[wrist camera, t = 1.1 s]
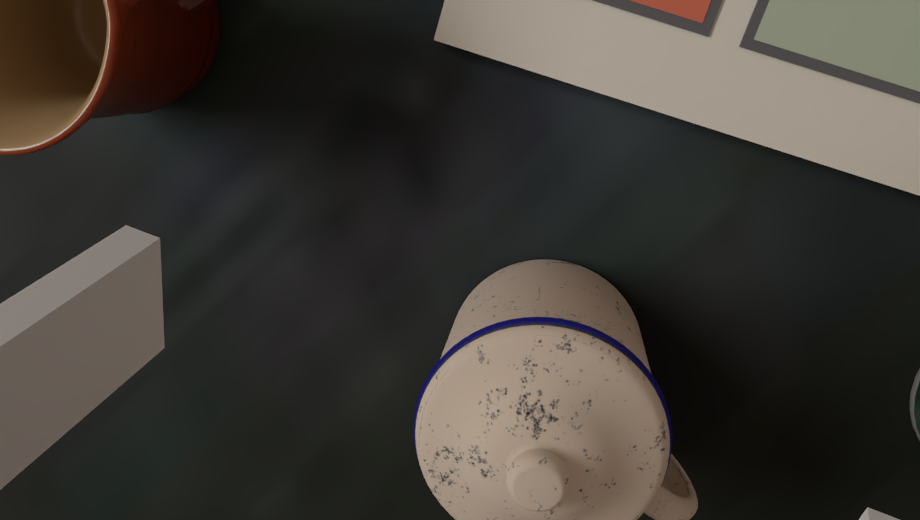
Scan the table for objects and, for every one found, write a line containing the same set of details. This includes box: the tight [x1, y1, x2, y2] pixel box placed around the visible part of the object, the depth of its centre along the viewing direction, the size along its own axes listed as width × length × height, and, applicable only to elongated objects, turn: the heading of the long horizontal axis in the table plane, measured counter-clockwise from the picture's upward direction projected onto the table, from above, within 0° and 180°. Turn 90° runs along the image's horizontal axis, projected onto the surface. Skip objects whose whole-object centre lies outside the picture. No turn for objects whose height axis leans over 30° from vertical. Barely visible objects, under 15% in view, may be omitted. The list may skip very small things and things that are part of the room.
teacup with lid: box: [414, 259, 698, 520], centre depth 30 cm, size 12×9×12 cm
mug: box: [0, 0, 221, 155], centre depth 28 cm, size 12×9×10 cm
